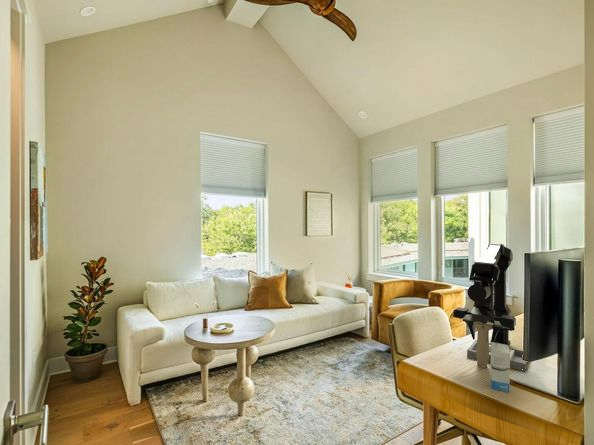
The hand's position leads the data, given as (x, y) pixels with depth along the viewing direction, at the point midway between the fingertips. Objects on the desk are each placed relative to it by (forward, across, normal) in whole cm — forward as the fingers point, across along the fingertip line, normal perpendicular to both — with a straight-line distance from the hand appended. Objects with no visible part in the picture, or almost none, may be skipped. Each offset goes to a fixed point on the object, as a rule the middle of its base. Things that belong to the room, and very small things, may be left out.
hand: (482, 341), depth 118 cm
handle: (+9, 0, 0) cm, 9 cm away
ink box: (+9, +7, -12) cm, 16 cm away
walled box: (+8, +3, +12) cm, 15 cm away
